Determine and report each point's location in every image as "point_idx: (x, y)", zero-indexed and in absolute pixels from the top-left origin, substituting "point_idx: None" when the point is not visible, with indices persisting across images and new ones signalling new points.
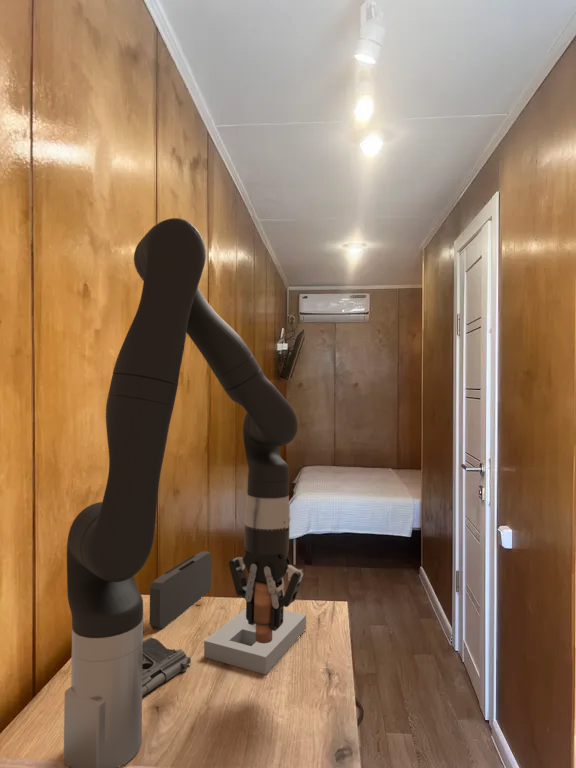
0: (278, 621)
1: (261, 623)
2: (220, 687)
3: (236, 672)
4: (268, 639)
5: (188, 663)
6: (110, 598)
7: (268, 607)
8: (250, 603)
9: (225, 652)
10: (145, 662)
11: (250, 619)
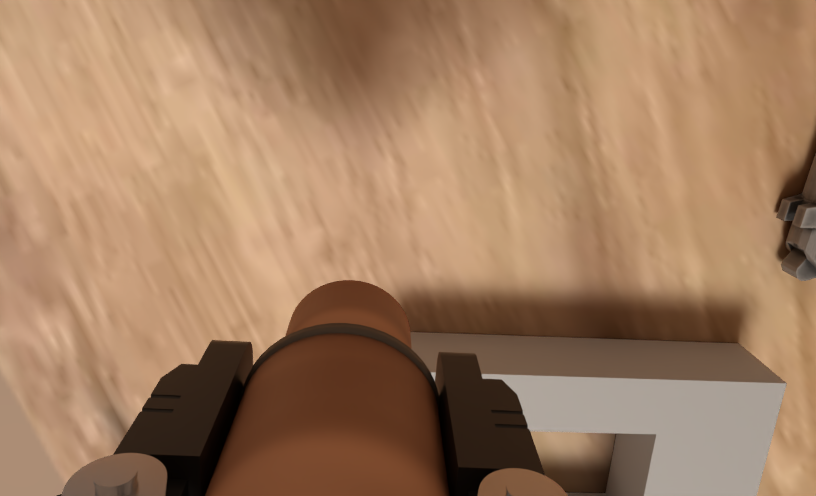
0: (160, 393)
1: (319, 333)
2: (556, 163)
3: (535, 295)
4: (293, 317)
5: (789, 254)
6: None
7: (231, 452)
8: (481, 463)
9: (637, 363)
10: None
11: (455, 368)
